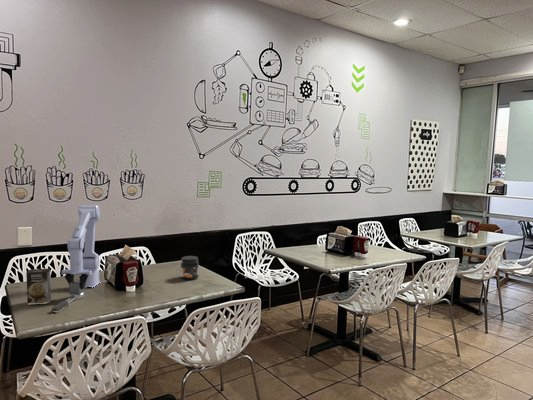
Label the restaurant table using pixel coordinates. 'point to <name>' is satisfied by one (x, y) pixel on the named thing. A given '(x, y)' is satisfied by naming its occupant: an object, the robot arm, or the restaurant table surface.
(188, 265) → the supplement container
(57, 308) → the ratchet
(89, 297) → the restaurant table surface
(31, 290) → the cookie box
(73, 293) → the brushed metal cube
